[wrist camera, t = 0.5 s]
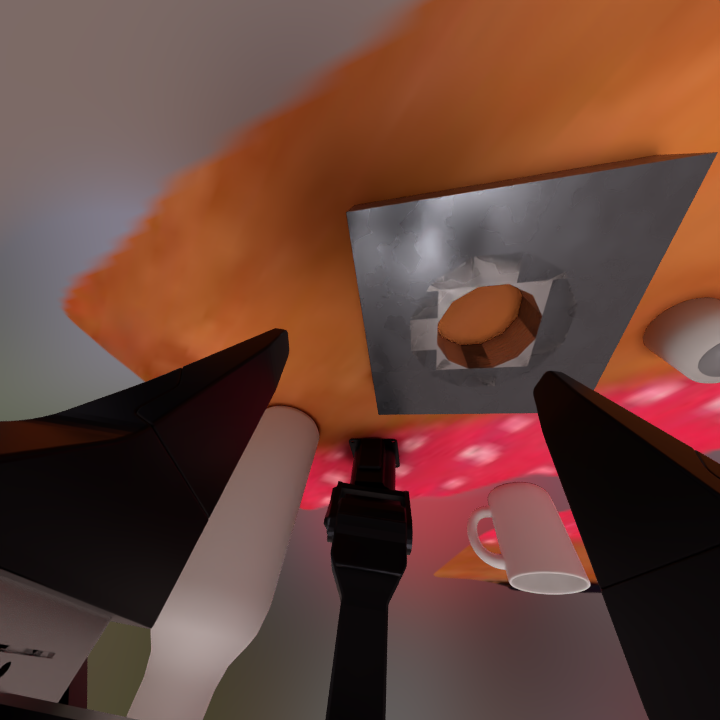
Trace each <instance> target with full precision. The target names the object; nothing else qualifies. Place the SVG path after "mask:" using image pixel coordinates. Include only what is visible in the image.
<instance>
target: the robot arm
mask: <svg viewBox="0 0 720 720" xmlns="http://www.w3.org/2000/svg"><path fill="white" fill-rule="evenodd" d="M288 355H289V340H288V332H287V331H286V330H284V329H277V328H275V329H272V330H270V331H267V332H265V333H263V334H260V335H258V336H255V337H253V338H251V339H248V340H246V341H244V342H241V343H239V344H236V345H234V346H232V347H229V348H227V349H224V350H222V351H220V352H217V353H215V354H212V355H210V356H208V357H205V358H203V359H201V360H198V361H196V362H193V363H191V364H189V365H186V366H184V367H183V369H182V368H179V369H176V370H174V371H172V372H169V373H167V374H164V375H162V376H159V377H157V378H154V379H152V380H149V381H147V382H144V383H141V384H139V385H136V386H133V387H130V388H128V389H125V390H122V391H119V392H116V393H114V394H111V395H108V396H105V397H102V398H100V399H97V400H94V401H91V402H88V403H85V404H83V405H80V406H77V407H74V408H71V409H68V410H66V411H62V412H59V413H57V414H53V415H49V416H44V417H39V418H34V419H27V420H19V421H0V720H137V719H132V718H128V717H123V716H117V715H113V714H108V713H103V712H99V711H94V710H89V709H87V656H88V655H89V653H90V651H91V650H92V648H93V647H94V645H95V644H96V642H97V641H98V639H99V638H100V636H101V634H102V633H103V631H104V630H105V628H106V626H107V625H108V623H109V622H110V621H112V622H118V623H123V624H128V625H133V626H138V627H143V628H148V629H151V628H152V627H153V626H154V624H155V622H156V620H157V619H158V617H159V615H160V613H161V611H162V609H163V607H164V605H165V603H166V601H167V599H168V597H169V596H170V594H171V592H172V590H173V588H174V586H175V584H176V582H177V580H178V578H179V576H180V574H181V572H182V570H183V569H184V567H185V565H186V563H187V561H188V559H189V557H190V555H191V553H192V551H193V549H194V547H195V545H196V543H197V541H198V540H199V538H200V536H201V534H202V532H203V530H204V528H205V526H206V524H207V522H208V520H209V519H208V518H210V516H211V514H212V512H213V510H214V508H215V506H216V504H217V503H218V501H219V499H220V497H221V495H222V493H223V491H224V489H225V487H226V485H227V483H228V481H229V479H230V477H231V476H232V474H233V472H234V470H235V468H236V466H237V464H238V462H239V460H240V458H241V456H242V454H243V452H244V450H245V448H246V447H247V445H248V443H249V441H250V439H251V437H252V435H253V433H254V431H255V429H256V427H257V425H258V423H259V421H260V420H261V418H262V416H263V414H264V412H265V410H266V408H267V406H268V404H269V402H270V400H271V398H272V396H273V394H274V392H275V390H276V388H277V385H278V383H279V380H280V377H281V374H282V372H283V369H284V366H285V364H286V361H287V358H288ZM533 396H534V400H535V404H536V408H537V412H538V416H539V420H540V424H541V428H542V432H543V435H544V438H545V441H546V443H547V446H548V449H549V452H550V454H551V457H552V460H553V462H554V465H555V468H556V470H557V473H558V476H559V479H560V481H561V484H562V487H563V489H564V492H565V495H566V497H567V500H568V503H569V505H570V508H571V511H572V514H573V516H574V519H575V522H576V524H577V527H578V530H579V532H580V535H581V538H582V541H583V543H584V546H585V549H586V551H587V554H588V557H589V559H590V562H591V565H592V567H593V570H594V573H595V576H596V578H597V581H598V584H599V586H600V588H601V592H602V595H603V598H604V601H605V603H606V606H607V609H608V611H609V614H610V617H611V619H612V622H613V625H614V628H615V630H616V633H617V636H618V638H619V641H620V644H621V646H622V649H623V652H624V654H625V657H626V660H627V663H628V665H629V668H630V671H631V673H632V676H633V679H634V682H635V684H636V687H637V690H638V693H639V695H640V698H641V701H642V703H643V706H644V709H645V711H646V713H647V716H648V718H649V720H720V464H719V463H717V462H715V461H714V460H712V459H710V458H709V457H707V456H705V455H704V454H702V453H700V452H698V451H696V450H694V449H693V448H691V447H690V446H688V445H686V444H685V443H683V442H681V441H679V440H678V439H676V438H674V437H673V436H671V435H669V434H667V433H666V432H664V431H662V430H661V429H659V428H657V427H655V426H654V425H652V424H650V423H649V422H647V421H645V420H643V419H642V418H640V417H638V416H637V415H635V414H633V413H631V412H630V411H628V410H626V409H625V408H623V407H621V406H619V405H618V404H616V403H614V402H612V401H611V400H609V399H607V398H606V397H604V396H602V395H600V394H599V393H597V392H595V391H594V390H592V389H590V388H588V387H587V386H585V385H583V384H582V383H580V382H578V381H576V380H575V379H573V378H571V377H570V376H568V375H566V374H564V373H562V372H559V371H552V370H549V371H546V372H545V373H544V374H543V376H542V377H541V379H540V380H539V381H538V383H537V384H536V386H535V387H534V390H533ZM352 441H354V442H352ZM392 441H395V442H392ZM349 443H350V447H351V450H352V454H353V457H354V461H353V468H352V474H351V481H350V484H348V483H343V482H340V481H338V485H337V487H334V488H333V490H332V495H331V500H330V504H329V507H328V510H327V513H326V516H325V519H324V525H325V527H326V529H327V534H328V536H327V541H328V542H332V547H331V563H332V564H331V566H332V572H333V575H334V579H335V582H336V586H337V590H338V593H339V597H340V601H341V606H340V614H339V621H338V629H337V637H336V644H335V652H334V659H333V667H332V674H331V682H330V690H329V697H328V705H327V712H326V720H385V713H386V673H387V672H386V671H387V630H388V627H387V626H388V604H389V602H390V600H391V598H392V595H393V593H394V592H395V590H396V588H397V586H398V583H399V581H400V579H401V577H402V575H403V573H404V571H405V569H406V566H407V555H410V553H411V548H412V517H411V508H410V499H409V491H397V490H395V468H397V467H399V466H400V463H399V454H398V444H397V440H396V439H372V438H364V439H350V440H349Z"/></svg>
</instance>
